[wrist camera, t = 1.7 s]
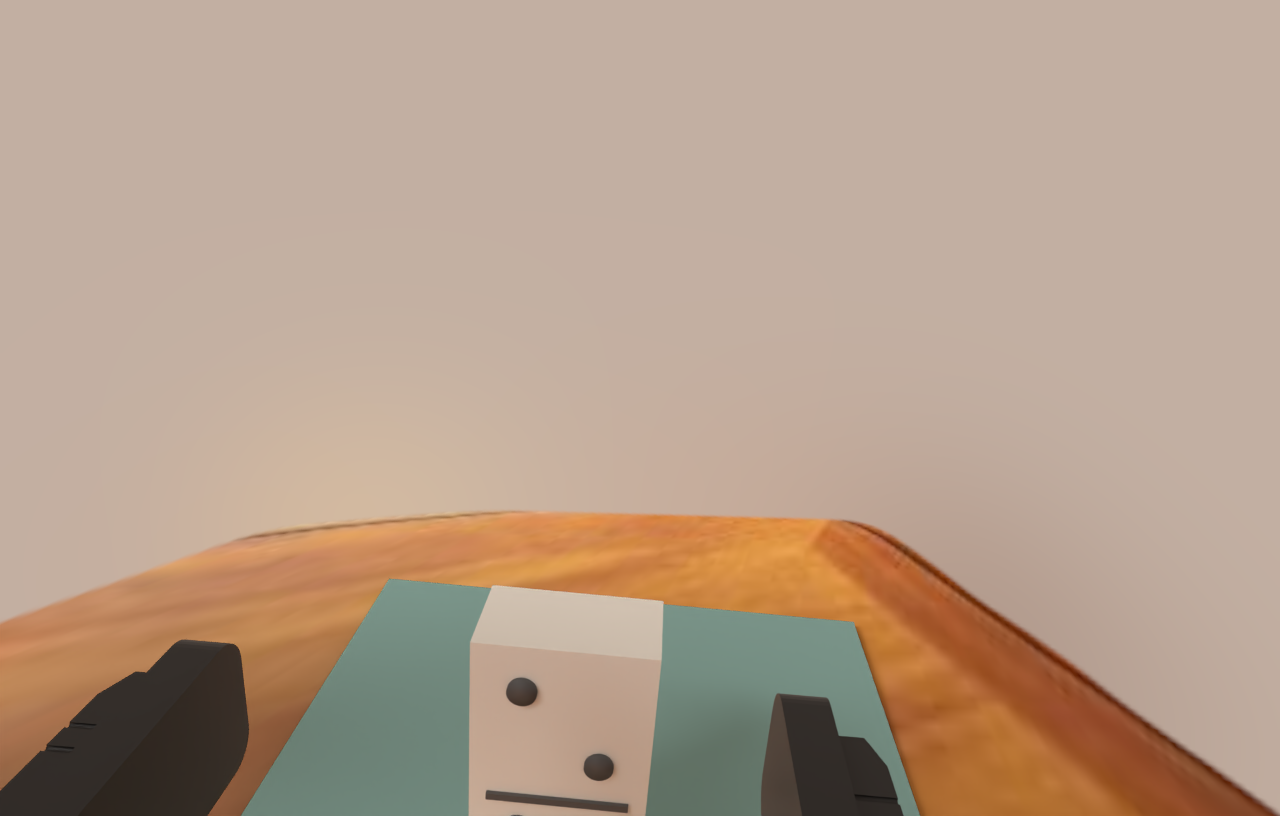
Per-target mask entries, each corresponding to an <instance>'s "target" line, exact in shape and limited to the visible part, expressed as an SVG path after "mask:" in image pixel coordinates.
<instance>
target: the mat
mask: <svg viewBox="0 0 1280 816" xmlns="http://www.w3.org/2000/svg"><path fill="white" fill-rule="evenodd" d="M490 591H491V588H484V587H473V586H462V585H452V584H441V583H430V582H419V581H409V580H398V579H389V580H388V582H387V583H386V585H385V586H384V588H383V590H382V591H381V593H380V594H379V596H378V598H377V599H376V601H375V602H374V604H373V606H372V607H371V609H370V610H369V612H368V614H367V615H366V617H365V618H364V620H363V622H362V623H361V625H360V626H359V628H358V630H357V631H356V633H355V634H354V636H353V638H352V639H351V641H350V642H349V644H348V645H347V647H346V649H345V650H344V652H343V653H342V655H341V657H340V658H339V660H338V661H337V663H336V665H335V666H334V668H333V669H332V671H331V673H330V674H329V676H328V677H327V679H326V681H325V682H324V684H323V685H322V687H321V689H320V690H319V692H318V693H317V695H316V697H315V698H314V700H313V701H312V703H311V705H310V706H309V708H308V709H307V711H306V713H305V714H304V716H303V717H302V719H301V721H300V722H299V724H298V725H297V727H296V729H295V730H294V732H293V733H292V735H291V736H290V738H289V740H288V741H287V743H286V744H285V746H284V748H283V749H282V751H281V752H280V754H279V756H278V757H277V759H276V760H275V762H274V764H273V765H272V767H271V768H270V770H269V772H268V773H267V775H266V776H265V778H264V780H263V781H262V783H261V784H260V786H259V788H258V789H257V791H256V792H255V794H254V796H253V797H252V799H251V800H250V802H249V804H248V805H247V807H246V808H245V810H244V812H243V813H242V815H241V816H469V697H470V641H471V638H472V636H473V633H474V631H475V628H476V626H477V623H478V621H479V618H480V616H481V613H482V611H483V608H484V606H485V603H486V601H487V598H488V596H489V593H490ZM777 693H781V694H792V695H804V696H815V697H826V698H828V700H829V702H830V704H831V708H832V712H833V716H834V719H835V723H836V727H837V731H838V735H839V736H848V737H860V738H865V739H866V741H867V742H868V743H869V744H870V746H871V747H872V748H873V749H874V750H875V752H876V753H877V754H878V755H879V757H880V758H881V759H882V760H883V761H884V763H885V764H886V765H887V766H888V769H889V772H890V775H891V778H892V781H893V785H894V788H895V791H896V794H897V797H898V804H900V806H901V809H902V812H903V815H904V816H920V814H919V811H918V808H917V805H916V802H915V800H914V797H913V794H912V791H911V788H910V785H909V782H908V779H907V776H906V773H905V770H904V768H903V765H902V762H901V759H900V756H899V753H898V750H897V747H896V744H895V741H894V738H893V736H892V733H891V730H890V727H889V724H888V721H887V718H886V715H885V712H884V709H883V706H882V704H881V701H880V698H879V695H878V692H877V689H876V686H875V683H874V680H873V677H872V674H871V671H870V669H869V666H868V663H867V660H866V657H865V654H864V651H863V648H862V645H861V642H860V639H859V637H858V634H857V631H856V628H855V625H854V622H847V621H837V620H826V619H815V618H805V617H794V616H783V615H772V614H762V613H751V612H740V611H730V610H719V609H708V608H698V607H687V606H676V605H666V604H663V633H662V661H661V671H660V680H659V690H658V699H657V709H656V718H655V728H654V737H653V747H652V756H651V766H650V775H649V785H648V794H647V804H646V813H645V816H761V784H762V774H763V767H764V761H765V754H766V748H767V742H768V735H769V729H770V722H771V716H772V709H773V704H774V699H775V696H776V694H777Z"/></svg>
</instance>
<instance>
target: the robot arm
mask: <svg viewBox="0 0 1280 816" xmlns="http://www.w3.org/2000/svg"><path fill="white" fill-rule="evenodd" d="M248 735H249V724H248V715H247V706H246V697H245V688H244V679H243V670H242V662H241V655H240V651H239V649H238V647H237V646H236V645H234V644H229V643H218V642H206V641H195V640H180V641H178V642H176V643H175V644H174V645H173V646H172V647H171V648H170V649H169V650H168V651H167V652H166V653H165V654H164V655H163V656H162V657H161V658H160V659H159V660H158V661H157V662H156V663H155V664H154V665H153V666H152V667H151V668H150V670H149V671H148V672H147V673H145V672H134V673H133V674H131V675H129V676H128V677H126V678H124V679H123V680H121V681H119V682H118V683H116V684H114V685H112V686H111V687H109V688H107V689H106V690H104V691H102V692H101V693H99V694H97V695H96V696H95V697H94V698H93V699H92V700H91V701H90V702H89V703H88V704H87V705H86V706H85V707H84V708H83V709H82V710H81V711H80V712H79V713H78V714H77V715H76V716H75V717H74V718H73V719H72V720H71V721H70V725H69V727H68V728H65V727H64V728H63V729H62V730H61V731H60V732H59V733H58V734H57V735H56V736H55V737H54V738H53V739H52V740H51V741H50V742H49V743H48V744H47V747H46V750H45V751H40V752H39V753H38V754H37V755H36V756H35V757H34V758H33V759H32V760H31V761H30V762H29V763H28V764H27V765H26V766H25V767H24V768H23V769H22V770H21V771H20V772H19V773H18V774H17V775H16V776H15V777H14V778H13V779H12V780H11V781H10V782H9V783H8V784H7V785H6V786H5V787H4V788H3V789H2V790H1V791H0V816H207V815H208V814H209V812H210V811H211V809H212V808H213V806H214V805H215V803H216V802H217V800H218V799H219V797H220V796H221V794H222V793H223V791H224V790H225V788H226V787H227V786H228V784H229V783H230V781H231V780H232V778H233V777H234V775H235V774H236V772H237V770H238V768H239V766H240V764H241V762H242V760H243V757H244V754H245V751H246V747H247V742H248ZM761 816H904V815H903V812H902V809H901V806H900V804H898V797H897V794H896V791H895V788H894V785H893V781H892V778H891V775H890V772H889V769H888V766H887V765H886V764H885V763H884V761H883V760H882V759H881V758H880V757H879V755H878V754H877V753H876V752H875V750H874V749H873V748H872V747H871V746H870V744H869V743H868V742H867V741H866V739H865V738H860V737H848V736H839V735H838V731H837V727H836V723H835V719H834V716H833V712H832V708H831V704H830V702H829V700H828V698H826V697H815V696H804V695H792V694H781V693H777V694H776V696H775V699H774V704H773V709H772V716H771V722H770V729H769V735H768V742H767V748H766V754H765V761H764V767H763V774H762V784H761Z"/></svg>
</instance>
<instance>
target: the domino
mask: <svg viewBox="0 0 1280 816" xmlns="http://www.w3.org/2000/svg"><path fill="white" fill-rule="evenodd" d="M663 602H664V601H657V600H646V599H636V598H625V597H614V596H604V595H593V594H582V593H571V592H561V591H550V590H539V589H529V588H518V587H507V586H496V585H493V586H492V588H491V591H490V593H489V596H488V598H487V601H486V603H485V606H484V608H483V611H482V613H481V616H480V618H479V621H478V623H477V626H476V628H475V631H474V633H473V636H472V638H471V641H470V697H469V816H645V813H646V804H647V794H648V785H649V775H650V766H651V756H652V747H653V737H654V728H655V718H656V709H657V699H658V690H659V680H660V671H661V661H662V633H663Z"/></svg>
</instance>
